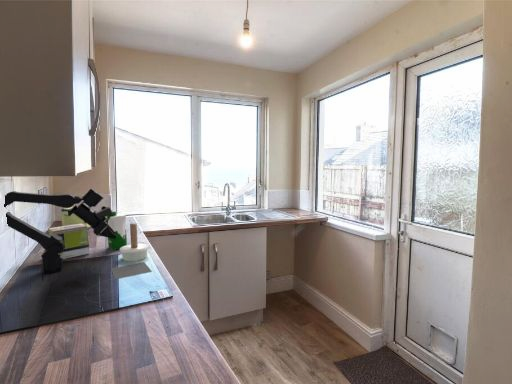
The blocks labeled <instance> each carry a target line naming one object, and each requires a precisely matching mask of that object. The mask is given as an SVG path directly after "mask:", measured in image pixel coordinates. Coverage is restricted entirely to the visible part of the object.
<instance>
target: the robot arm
mask: <svg viewBox="0 0 512 384" xmlns="http://www.w3.org/2000/svg"><path fill="white" fill-rule="evenodd" d="M4 196H5V204H4V207H5V208H7V207H8V206H10V205H11V204H13V203H15V202H16V203H29V204H43V205H53V206H56V207H59V208H62V209H64V208H70V207H73V208H72V209H71V210H67V211H68V216H71V215H72V214H75V215H76V216H77V217H79V218H80V219H81V220H83V221H84V223H87V224H88V225H90V226H91V229H92V230H93V234H94V235H95V236H98V237H105V238H107V239H108V238H113V239H116V238H117V237H116V236H115V235H114V234H115V232H114V230H113V229H112V228H111V227H110V226H109V224H108V219H107V218H106V216H108V215H111V214H113V212H114V211H112V209H111V206H106V205H103V206H100V207H101V209H100V210H99V211H96V210H92V208H95V207H96V206H98V204H99V203H101V202H102V201H103V199H104V198H105V197H104V196H103V195H101V194H100V193H99V192H97V191H96V190H94V189H93V188H89V190H88V191H87V192H86V193H85V194H84V195H83V196H76V195H75V196H74V194H72V193H57V194H44V193H43V194H42V193H33V192H22V191H21V192H19V191H16V190H15V191H10V192H8V193H5V195H4ZM77 204H78V205H77ZM7 205H8V206H7ZM6 206H7V207H6ZM87 206H89V207H91V209H90V208H88V207H87ZM6 217H7V224H8V226H7V227H9V228H11V229H13V230H15V231H16V232H18V233H20V234H22V235H24V236H25V237H27V238H29V239H31V240H32V241H35V242H37V243H38V244H39V245H40V246H41V247H42V248H43V249H44V250H43V252H42V254H41V256H40V257H41V259H42V262H41V263H42V274H43V275H45V274H49V273H50V274H51V273H56V272H61V271H62V269H63V268H64V266H63V264H64V263H63V259H62V257H61V258H60V254H59V253H60V252H62V250H63V248H64V245H65V242H64V240H63V239H62V237H60V236H58V235H56V234H55V233H53V234H52V235H49V233H45V232H43V231H41V230H40V229H38V228H36V227H35V226H33V225H31V224H29V223H28V222H25V221H24V220H22V219H20V218H19V217H17V216H15V215H14V214H12V213H11V212H10V211H9V212H7V213H6ZM106 219H107V220H106Z"/></svg>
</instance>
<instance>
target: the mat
mask: <svg viewBox="0 0 512 384" xmlns="http://www.w3.org/2000/svg"><path fill="white" fill-rule="evenodd" d="M110 270H111V272H112V274H113V277H114V278H115V280H119V279H123V278H128V277H133V276H138V275H142V274H147V273H151V272H153V271H152V270H151V268H150V267H149V266H148V265H147V264H146V262H145V261H142V262H138V263H132V264H126V265H123V266H122V265H121V266H117V267H111V268H110Z"/></svg>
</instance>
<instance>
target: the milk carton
mask: <svg viewBox="0 0 512 384" xmlns="http://www.w3.org/2000/svg"><path fill="white" fill-rule="evenodd" d="M112 212H113V214H111V215H108V216H106V218H107V219H108V224H109V226H110V227H111V228H112V229H113V230H114V232H115V234H114V235H115V236H116V237H117V238H116V239H113V238H108V237H107V245H108V246H107V247H108V248H109V249H110V250H113V251H117V250H120V248H121V247H123V246H126V245H128V240H127V239H128V238H127V237H128V236H127V215H126V214H123V213H117V211H112ZM107 219H105V221H106V220H107Z"/></svg>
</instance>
